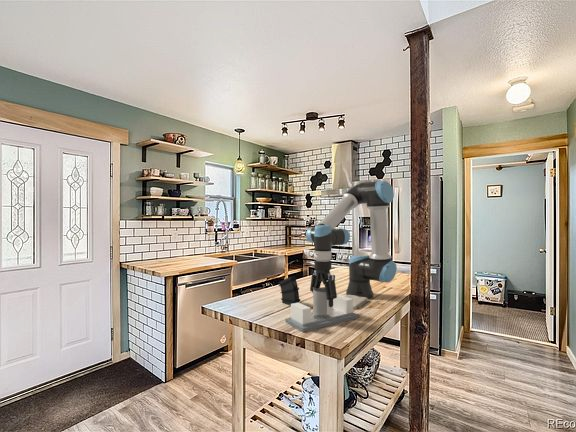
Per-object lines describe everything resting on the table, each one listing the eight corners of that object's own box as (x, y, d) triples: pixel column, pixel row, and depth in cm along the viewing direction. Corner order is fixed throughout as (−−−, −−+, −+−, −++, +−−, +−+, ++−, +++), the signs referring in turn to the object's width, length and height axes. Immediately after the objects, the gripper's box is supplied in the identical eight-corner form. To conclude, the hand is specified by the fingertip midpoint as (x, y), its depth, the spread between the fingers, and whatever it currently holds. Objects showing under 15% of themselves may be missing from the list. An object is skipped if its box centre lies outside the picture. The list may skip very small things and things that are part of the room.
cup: (321, 307, 139) (321, 286, 139) (336, 311, 133) (335, 289, 133) (309, 312, 133) (309, 289, 133) (324, 316, 127) (324, 293, 127)
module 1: (298, 316, 132) (298, 302, 132) (310, 322, 124) (310, 307, 124) (290, 317, 130) (290, 303, 130) (302, 324, 122) (302, 309, 122)
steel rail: (339, 308, 144) (339, 307, 144) (353, 313, 137) (353, 312, 137) (290, 319, 130) (290, 317, 130) (302, 326, 122) (302, 324, 122)
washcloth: (368, 302, 162) (368, 296, 162) (356, 310, 147) (356, 304, 147) (348, 298, 169) (348, 293, 169) (334, 306, 154) (334, 300, 154)
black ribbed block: (298, 305, 148) (290, 276, 153) (283, 311, 157) (276, 283, 162) (304, 304, 151) (295, 275, 156) (289, 309, 160) (281, 282, 165)
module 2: (339, 307, 144) (339, 294, 144) (353, 312, 137) (353, 299, 137) (333, 308, 142) (333, 295, 142) (346, 313, 135) (346, 300, 135)
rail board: (339, 310, 147) (339, 307, 147) (358, 317, 136) (358, 314, 136) (285, 322, 131) (285, 318, 130) (302, 332, 119) (302, 328, 119)
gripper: (302, 257, 140) (302, 305, 140) (332, 264, 122) (332, 319, 122) (315, 256, 144) (315, 303, 144) (345, 262, 126) (345, 316, 126)
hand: (322, 310), depth 133 cm, fingers open, 9 cm apart
